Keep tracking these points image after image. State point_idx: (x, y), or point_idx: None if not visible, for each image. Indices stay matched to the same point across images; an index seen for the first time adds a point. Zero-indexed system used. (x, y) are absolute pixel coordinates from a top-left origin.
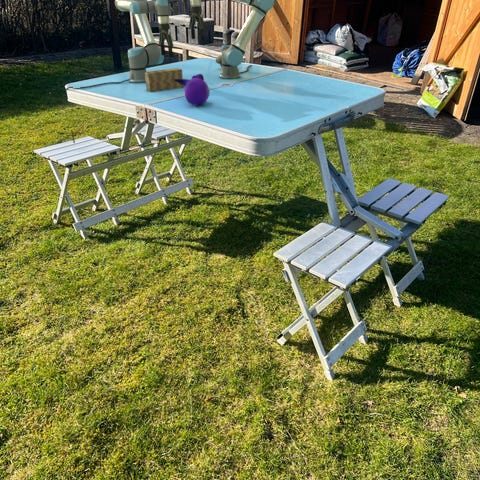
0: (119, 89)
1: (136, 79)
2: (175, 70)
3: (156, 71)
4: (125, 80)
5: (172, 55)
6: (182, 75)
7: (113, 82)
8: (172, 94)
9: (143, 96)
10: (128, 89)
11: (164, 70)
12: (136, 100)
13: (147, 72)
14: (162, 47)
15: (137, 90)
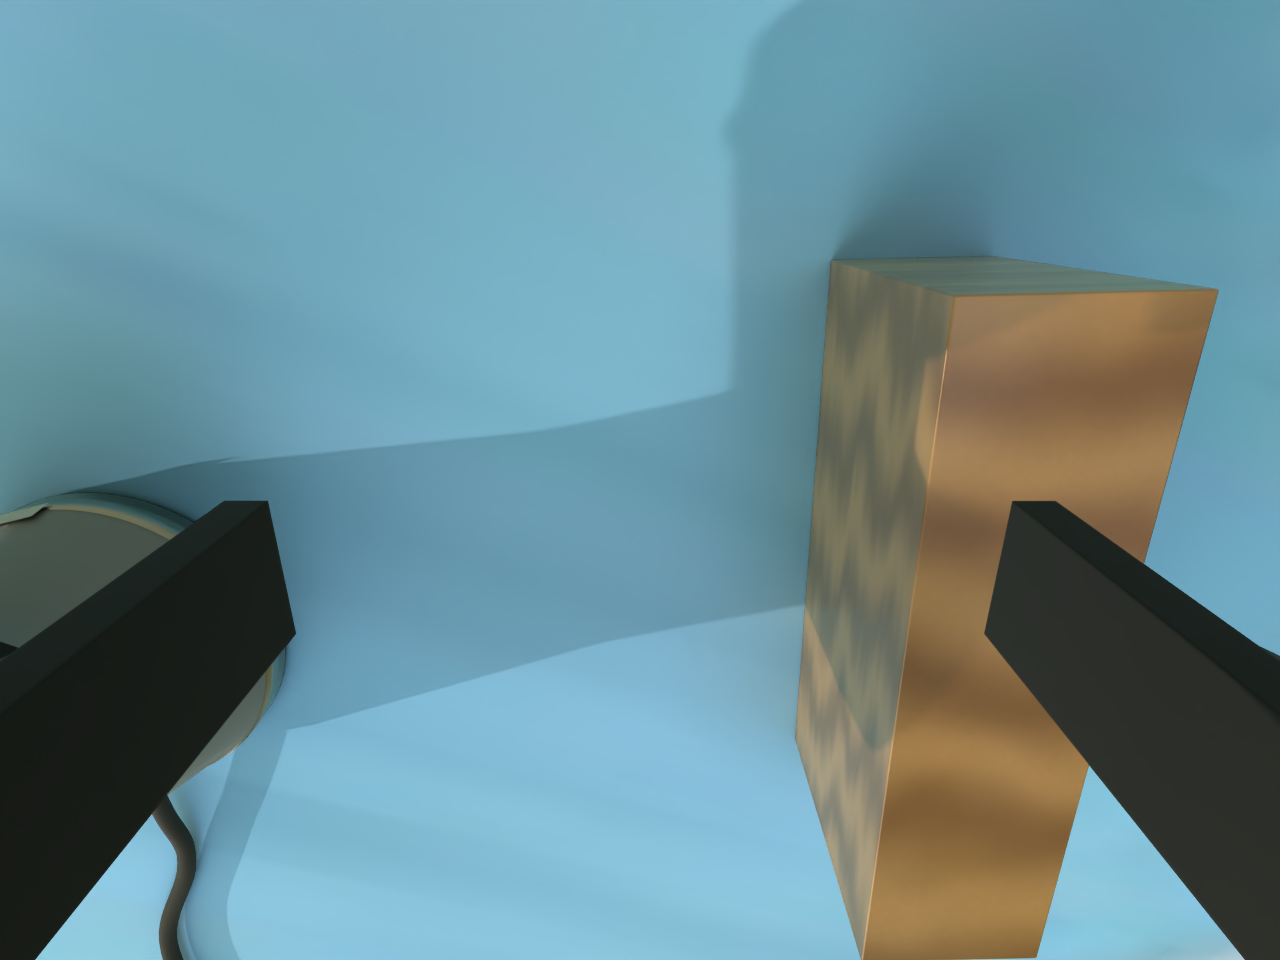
0: (550, 929)
1: (245, 731)
2: (1164, 471)
3: (983, 818)
4: (167, 816)
5: (1094, 546)
6: (1115, 274)
7: (175, 915)
8: (1264, 585)
9: (1065, 853)
10: (610, 867)
11: (1009, 675)
12: (1165, 941)
13: (946, 944)
14: (67, 822)
15: (730, 815)
